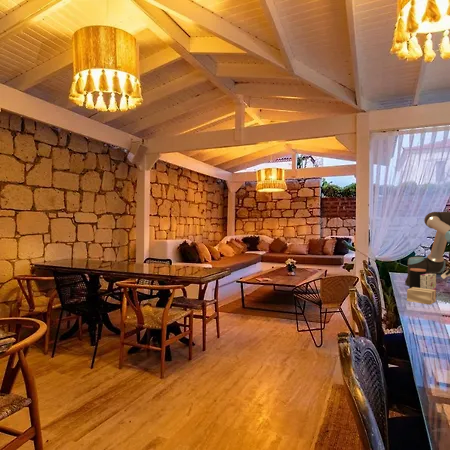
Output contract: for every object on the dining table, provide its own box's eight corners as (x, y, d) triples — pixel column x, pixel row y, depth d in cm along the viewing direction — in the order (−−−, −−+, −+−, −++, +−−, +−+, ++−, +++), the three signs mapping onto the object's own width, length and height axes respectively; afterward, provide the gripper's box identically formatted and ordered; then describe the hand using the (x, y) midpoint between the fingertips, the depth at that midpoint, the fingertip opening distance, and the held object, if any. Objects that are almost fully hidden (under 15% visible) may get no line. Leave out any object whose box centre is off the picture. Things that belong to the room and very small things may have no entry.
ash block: (413, 298, 244) (413, 287, 244) (435, 302, 234) (435, 290, 234) (406, 301, 236) (407, 289, 236) (430, 305, 226) (430, 292, 226)
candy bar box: (429, 296, 251) (429, 273, 250) (436, 297, 246) (436, 274, 246) (419, 297, 245) (419, 274, 245) (426, 299, 241) (426, 275, 241)
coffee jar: (428, 295, 252) (428, 270, 252) (411, 294, 254) (412, 270, 254) (422, 292, 263) (423, 268, 262) (407, 291, 265) (407, 268, 264)
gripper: (473, 262, 217) (444, 283, 228) (479, 258, 235) (453, 278, 246) (463, 252, 220) (435, 273, 231) (470, 250, 238) (444, 269, 249)
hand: (444, 276), depth 238 cm, fingers open, 13 cm apart
